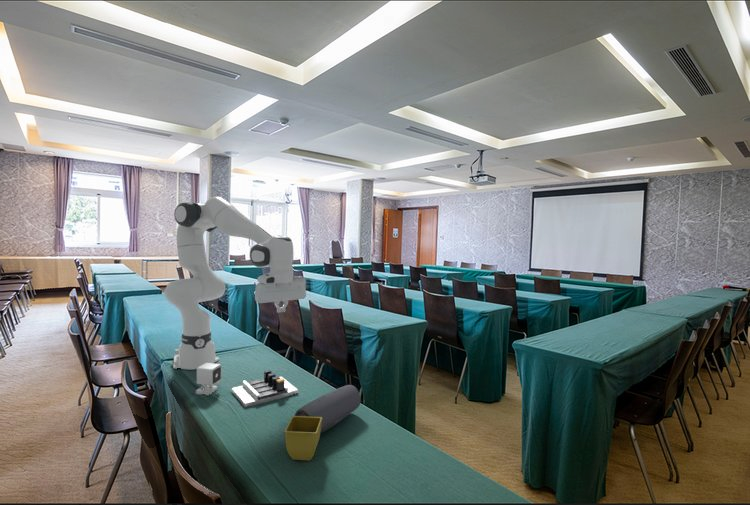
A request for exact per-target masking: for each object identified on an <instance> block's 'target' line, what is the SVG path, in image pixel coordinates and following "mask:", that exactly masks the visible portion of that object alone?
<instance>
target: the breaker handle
mask: <svg viewBox="0 0 750 505" xmlns="http://www.w3.org/2000/svg"><path fill="white" fill-rule="evenodd" d="M283 378H284V377H283ZM283 378H282V379H278V380H276V381H277V386H276V389H277V390H278V391H280V390H284V381H285V380H286V379H285V378H284V379H285V380H284V379H283Z"/></svg>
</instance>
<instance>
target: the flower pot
mask: <svg viewBox="0 0 750 505" xmlns="http://www.w3.org/2000/svg"><path fill="white" fill-rule="evenodd" d="M321 424H322V417H305V416H294V415H293V416H292V417H291V418H290V420H289V421H288V424H287V425H286V427H285V429H284V438H285V448H286V451H287V453H288V455H289V457H290V458H291V460H292V461H293V460H294V461H295V460H296V461H311V460H312V459H313V457H314V455H315V452H316V449H317V446H318V443H319V440H320V437H321V433H322V432H321ZM320 432H321V433H320Z"/></svg>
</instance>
